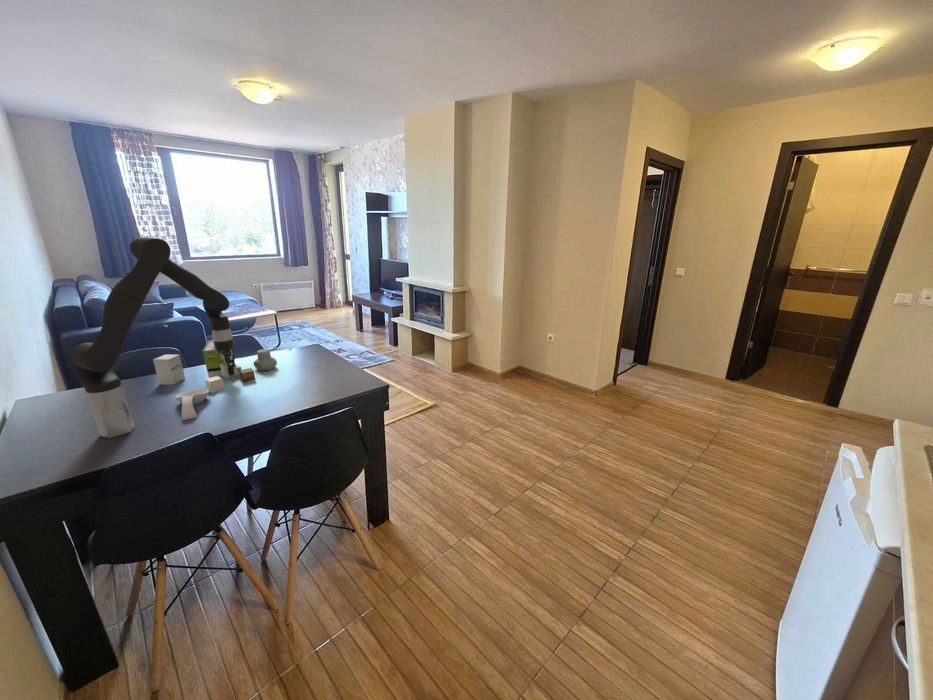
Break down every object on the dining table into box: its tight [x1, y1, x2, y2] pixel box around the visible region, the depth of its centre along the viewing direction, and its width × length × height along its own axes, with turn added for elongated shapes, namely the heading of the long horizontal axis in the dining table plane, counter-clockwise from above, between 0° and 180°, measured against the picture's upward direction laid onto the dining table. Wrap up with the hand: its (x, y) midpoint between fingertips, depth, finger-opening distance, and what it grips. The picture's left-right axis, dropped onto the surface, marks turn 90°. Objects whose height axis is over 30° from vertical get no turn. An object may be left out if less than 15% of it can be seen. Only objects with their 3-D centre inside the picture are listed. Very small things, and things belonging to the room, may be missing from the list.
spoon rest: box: [175, 388, 210, 421], centre depth 155 cm, size 24×12×7 cm, turn 31°
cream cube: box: [204, 376, 224, 393], centre depth 172 cm, size 5×5×5 cm
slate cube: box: [226, 365, 242, 380], centre depth 186 cm, size 5×5×5 cm
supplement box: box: [152, 354, 186, 386], centre depth 178 cm, size 7×7×13 cm
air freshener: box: [253, 348, 278, 371], centre depth 195 cm, size 11×8×10 cm
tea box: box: [202, 341, 233, 378], centre depth 189 cm, size 15×10×15 cm
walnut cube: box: [239, 367, 256, 384], centre depth 182 cm, size 5×5×5 cm
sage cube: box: [220, 363, 238, 378], centre depth 175 cm, size 5×5×5 cm
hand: (229, 373), depth 176 cm, fingers closed on sage cube, 5 cm apart
